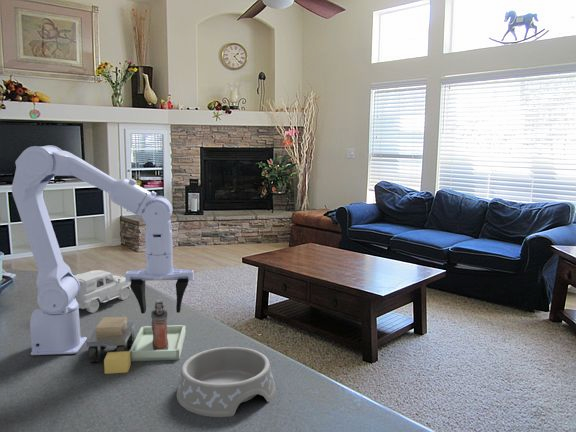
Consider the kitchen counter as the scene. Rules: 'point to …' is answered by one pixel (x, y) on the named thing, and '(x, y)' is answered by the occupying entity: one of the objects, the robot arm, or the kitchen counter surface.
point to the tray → (144, 346)
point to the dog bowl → (224, 380)
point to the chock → (117, 362)
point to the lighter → (159, 326)
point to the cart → (110, 336)
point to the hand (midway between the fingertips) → (161, 311)
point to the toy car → (100, 289)
